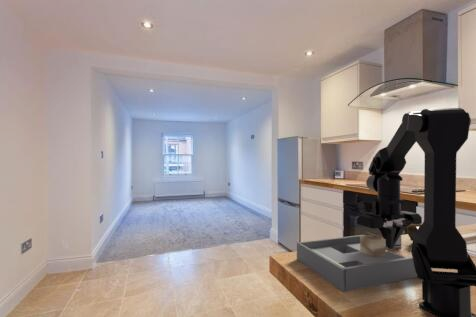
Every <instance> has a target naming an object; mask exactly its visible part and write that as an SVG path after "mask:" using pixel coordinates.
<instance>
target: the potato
mask: <svg viewBox="0 0 476 317" xmlns="http://www.w3.org/2000/svg"><path fill="white" fill-rule="evenodd" d="M421 225H422V224H413V223H411V224H409V225H407V228H406V232H407V235H408V237H409V239H410V241H412V242H413V229H414V227H420V226H421Z"/></svg>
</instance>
